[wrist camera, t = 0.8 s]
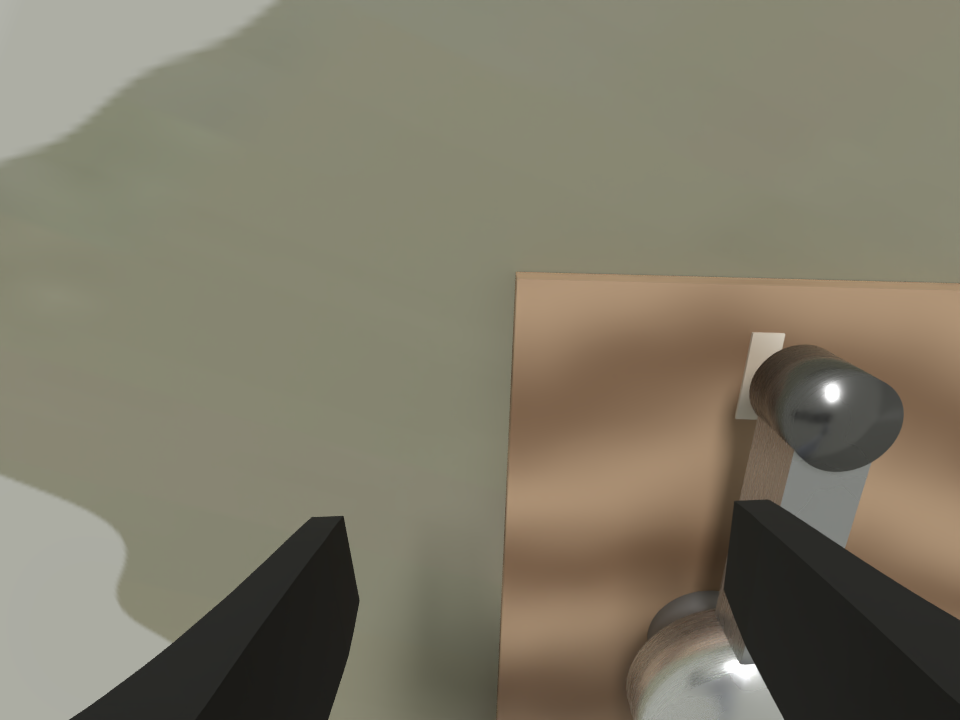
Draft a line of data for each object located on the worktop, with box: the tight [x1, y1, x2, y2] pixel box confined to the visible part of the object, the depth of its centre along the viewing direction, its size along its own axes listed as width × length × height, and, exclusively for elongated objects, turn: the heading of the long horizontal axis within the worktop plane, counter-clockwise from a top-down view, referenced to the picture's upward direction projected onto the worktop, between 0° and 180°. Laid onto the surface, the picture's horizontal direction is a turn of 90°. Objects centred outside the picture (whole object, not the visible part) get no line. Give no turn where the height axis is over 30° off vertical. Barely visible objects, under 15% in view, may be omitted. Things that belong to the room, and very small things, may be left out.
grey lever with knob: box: [626, 344, 904, 720], centre depth 17 cm, size 16×7×2 cm, turn 179°
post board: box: [496, 272, 960, 720], centre depth 20 cm, size 22×22×3 cm
